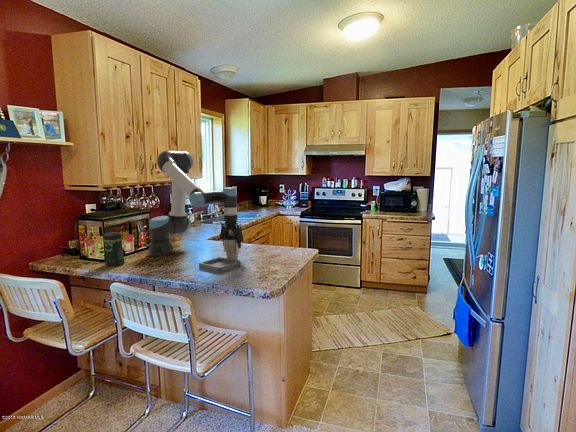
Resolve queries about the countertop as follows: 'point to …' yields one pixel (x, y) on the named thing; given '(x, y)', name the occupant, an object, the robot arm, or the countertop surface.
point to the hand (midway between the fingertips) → (232, 252)
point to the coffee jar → (113, 249)
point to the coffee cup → (230, 246)
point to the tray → (219, 265)
